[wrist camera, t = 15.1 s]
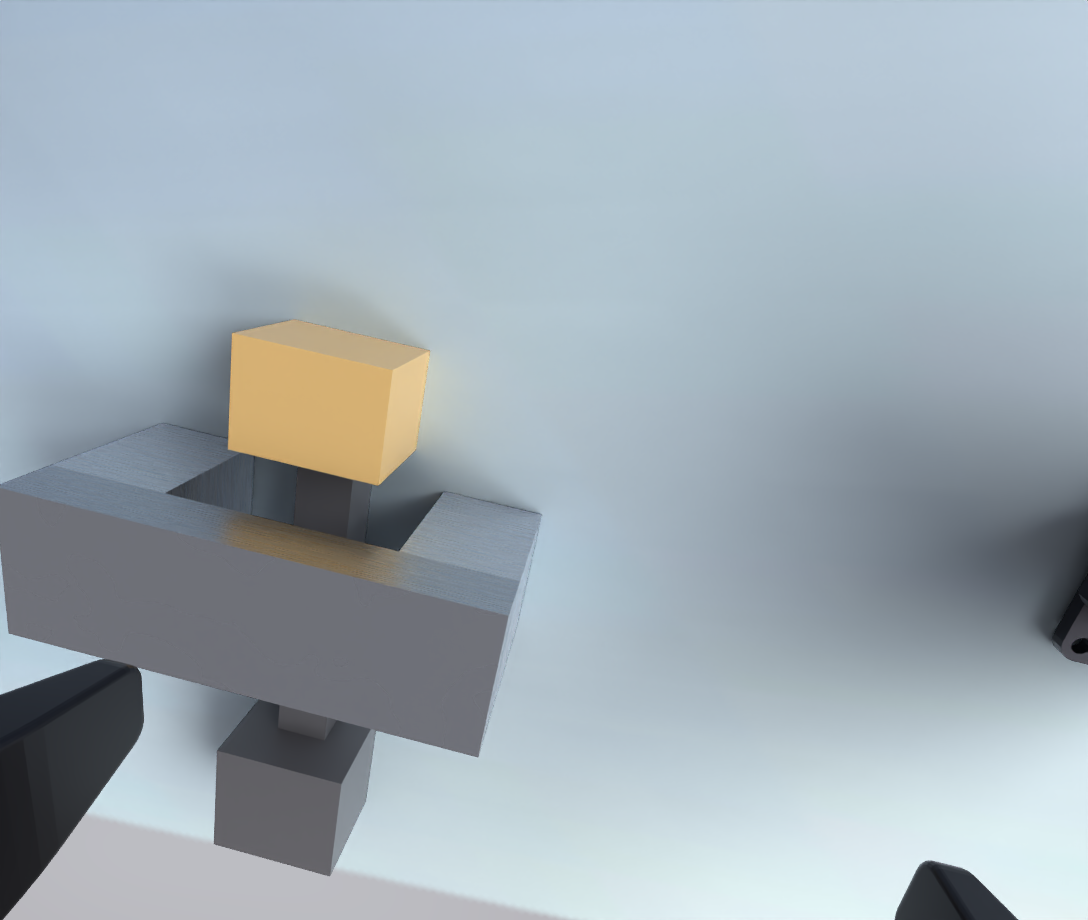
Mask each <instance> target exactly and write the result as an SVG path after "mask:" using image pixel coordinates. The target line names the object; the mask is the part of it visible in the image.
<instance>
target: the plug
mask: <svg viewBox="0 0 1088 920" xmlns="http://www.w3.org/2000/svg"><path fill="white" fill-rule="evenodd" d="M429 355H430V350H425V349H421V348H417V347H412V346H408V345H404V344H399V343H395V342H390V341H386V340H382V339H377V338H373V337H369V336H364V335H360V334H356V333H351V332H347V331H343V330H338V329H334V328H329V327H325V326H321V325H316V324H312V323H308V322H303V321H299V320H295V319H294V320H289V321H285V322H280V323H275V324H271V325H266V326H262V327H257V328H252V329H248V330H243V331H239V332H234V333H232V349H231V377H230V405H229V433H228V449H229V450H233V451H237V452H241V453H245V454H249V455H254V456H258V457H262V458H266V459H270V460H274V461H278V462H282V463H287V464H291V465H295V466H298V471H297V484H296V497H295V510H294V523H293V525H295V526H299V527H303V528H307V529H311V530H315V531H319V532H323V533H327V534H331V535H335V536H339V537H343V538H347V539H351V540H355V541H359V542H363V543H365V537H366V529H367V521H368V512H369V504H370V496H371V487H372V484H373V485H377V486H379V485H380V484H381V483H382V482H383V481H384V480H385V479H386V478H387V477H388V476H389V475H390V474H391V473H392V472H393V471H394V470H395V469H396V468H398V467H399V466H400V465H401V464H402V463H403V462H404V461H405V460H406V459H407V458H408V457H409V456H410V455H411V454H412V453H413V452H414V451H415V450H416V446H417V439H418V432H419V425H420V418H421V411H422V404H423V397H424V390H425V383H426V376H427V369H428V362H429ZM375 734H376V730H373V729H369V728H365V727H361V726H358V725H354V724H350V723H346V722H342V721H339V720H335V719H331V718H327V717H323V716H320V715H316V714H312V713H308V712H305V711H301V710H297V709H293V708H289V707H286V706H282V705H278V704H274V703H270V702H267V701H263V700H258V701H257V703H256V704H255V705H254V706H253V707H252V709H251V710H250V711H249V712H248V714H247V715H246V716H245V717H244V718H243V720H242V721H241V722H240V723H239V725H238V726H237V727H236V728H235V729H234V731H233V732H232V733H231V734H230V736H229V737H228V738H227V739H226V740H225V742H224V743H223V744H222V745H221V747H220V748H219V749H218V750H217V770H216V798H215V826H214V844H215V845H219V846H222V847H226V848H230V849H233V850H237V851H240V852H244V853H248V854H251V855H255V856H259V857H262V858H266V859H269V860H273V861H277V862H280V863H284V864H287V865H291V866H294V867H298V868H302V869H305V870H309V871H312V872H316V873H320V874H323V875H327V876H330V875H331V873H332V871H333V869H334V867H335V865H336V863H337V861H338V859H339V856H340V854H341V852H342V850H343V848H344V846H345V844H346V842H347V840H348V838H349V835H350V833H351V831H352V829H353V827H354V825H355V823H356V821H357V819H358V816H359V814H360V812H361V810H362V808H363V806H364V804H365V802H366V797H367V790H368V783H369V776H370V769H371V762H372V755H373V748H374V741H375Z"/></svg>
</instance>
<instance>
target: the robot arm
mask: <svg viewBox="0 0 1088 920" xmlns="http://www.w3.org/2000/svg"><path fill="white" fill-rule="evenodd" d="M1079 638H1082V640H1081V641H1080V642H1079V643H1078V644H1075V645H1072V643H1073V642H1074V641H1075V640H1077V639H1079ZM1052 641H1053V645H1054V646H1055V647H1056V649H1057V650H1058V651H1060V652H1061V653H1062V654H1063V655H1064V656H1065V657H1066V658H1068V659H1070V660H1072V661H1075V662H1080V663H1084V664H1088V574H1087V575H1086V577H1085V579H1084V581H1083V582H1082V584H1081V586H1080V588H1079V590H1078V591H1077V593H1076V595H1075V597H1074V598H1073V600H1072V602H1071V604H1070V606H1069V607H1068V609H1067V611H1066V613H1065V614H1064V616H1063V618H1062V620H1061V621H1060V623H1059V625H1058V627H1057V629H1056V630H1055V632H1054V634H1053V638H1052ZM143 723H144V711H143V695H142V678H141V673H140V671H139V670H138V668H137V667H135V666H133V665H130V664H126V663H122V662H118V661H113V660H109V659H102V660H97V661H94V662H91V663H88V664H85V665H83V666H80V667H77V668H74V669H71V670H69V671H66V672H63V673H60V674H57V675H55V676H52V677H49V678H46V679H43V680H41V681H38V682H35V683H32V684H29V685H27V686H24V687H21V688H18V689H15V690H13V691H10V692H7V693H4V694H1V695H0V920H3V919H4V918H5V916H6V915H7V914H8V913H9V912H10V911H11V909H12V908H13V907H14V906H15V905H16V903H17V902H18V901H19V899H21V898H22V896H23V895H24V894H25V893H26V891H27V890H28V889H29V888H30V887H31V885H32V884H33V883H34V882H35V880H36V879H37V878H38V877H39V876H40V874H41V873H42V872H43V871H44V869H45V868H46V867H47V865H48V864H49V863H50V861H51V860H52V859H53V857H54V856H55V855H56V853H57V852H58V851H59V849H60V848H61V847H62V845H63V844H64V842H65V841H66V840H67V838H68V837H69V836H70V834H71V833H72V831H73V830H74V829H75V827H76V826H77V824H78V823H79V821H80V820H81V819H82V817H83V816H84V815H85V813H86V812H87V810H88V809H89V808H90V806H91V805H92V803H93V802H94V801H95V799H96V798H97V796H98V795H99V794H100V792H101V791H102V789H103V788H104V787H105V785H106V784H107V783H108V781H109V780H110V778H111V777H112V776H113V774H114V773H115V771H116V770H117V769H118V767H119V766H120V764H121V763H122V762H123V760H124V759H125V757H126V756H127V755H128V753H129V752H130V750H131V749H132V748H133V746H134V745H135V743H136V742H137V740H138V738H139V736H140V734H141V731H142V728H143ZM895 920H1018V919H1017V918H1016V917H1015V916H1014V915H1013V914H1012V913H1011V912H1010V911H1009V910H1008V909H1007V908H1006V907H1005V906H1004V905H1003V904H1002V903H1001V902H1000V901H999V900H998V899H997V898H996V897H995V896H994V895H993V894H992V893H991V892H990V891H989V890H988V889H987V888H986V887H985V886H984V885H983V884H982V883H981V882H980V881H979V880H978V879H977V878H976V877H975V876H974V875H972V874H971V873H970V872H968V871H967V870H965V869H963V868H960V867H956V866H952V865H948V864H944V863H939V862H935V861H925V862H923V863H922V864H920V865H919V867H918V869H917V870H916V872H915V874H914V876H913V878H912V881H911V883H910V885H909V887H908V889H907V891H906V893H905V895H904V897H903V899H902V901H901V903H900V905H899V907H898V909H897V912H896V916H895Z"/></svg>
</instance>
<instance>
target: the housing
mask: <svg viewBox="0 0 1088 920" xmlns="http://www.w3.org/2000/svg"><path fill="white" fill-rule="evenodd" d="M253 469H254V455H249V454H245V453H241V452H237V451H233V450H229V449H228V439H226V438H222V437H218V436H214V435H210V434H206V433H201V432H197V431H193V430H189V429H185V428H181V427H177V426H172V425H168V424H164V423H161V424H158V425H156V426H153V427H150V428H148V429H145V430H142V431H140V432H137V433H134V434H132V435H129V436H126V437H124V438H121V439H119V440H116V441H113V442H111V443H108V444H105V445H103V446H100V447H97V448H95V449H92V450H89V451H87V452H84V453H81V454H79V455H76V456H74V457H71V458H68V459H66V460H63V461H60V462H58V463H55V464H52V465H50V466H47V467H44V468H42V469H39V470H36V471H34V472H31V473H29V474H26V475H23V476H21V477H18V478H15V479H13V480H10V481H7V482H5V483H2V484H0V551H1V561H2V571H3V581H4V591H5V601H6V611H7V621H8V631H9V634H13V635H17V636H21V637H24V638H28V639H32V640H36V641H40V642H43V643H47V644H51V645H55V646H58V647H62V648H66V649H70V650H74V651H77V652H81V653H85V654H89V655H93V656H96V657H100V658H104V659H109V660H113V661H118V662H122V663H126V664H130V665H133V666H135V667H138V668H142V669H146V670H149V671H153V672H157V673H161V674H164V675H168V676H172V677H176V678H180V679H183V680H187V681H191V682H195V683H199V684H202V685H206V686H210V687H214V688H217V689H221V690H225V691H229V692H233V693H236V694H240V695H244V696H248V697H252V698H255V699H259V700H263V701H267V702H270V703H274V704H278V705H282V706H286V707H289V708H293V709H297V710H301V711H305V712H308V713H312V714H316V715H320V716H323V717H327V718H331V719H335V720H339V721H342V722H346V723H350V724H354V725H358V726H361V727H365V728H369V729H373V730H376V731H380V732H384V733H388V734H392V735H395V736H399V737H403V738H407V739H411V740H414V741H418V742H422V743H426V744H429V745H433V746H437V747H441V748H445V749H448V750H452V751H456V752H460V753H464V754H467V755H471V756H475V757H478V756H479V753H480V749H481V746H482V743H483V739H484V736H485V733H486V729H487V726H488V722H489V719H490V716H491V712H492V709H493V706H494V702H495V699H496V695H497V692H498V689H499V685H500V682H501V679H502V675H503V672H504V669H505V665H506V662H507V658H508V655H509V652H510V648H511V645H512V642H513V638H514V635H515V631H516V628H517V624H518V620H519V615H520V611H521V606H522V602H523V597H524V593H525V588H526V584H527V579H528V575H529V570H530V566H531V561H532V557H533V552H534V548H535V543H536V539H537V534H538V530H539V525H540V521H541V516H542V515H541V514H537V513H532V512H528V511H524V510H520V509H516V508H512V507H508V506H503V505H499V504H495V503H491V502H487V501H483V500H479V499H475V498H470V497H466V496H462V495H458V494H454V493H450V492H446V491H444V493H443V494H442V495H441V497H440V498H439V499H438V500H437V502H436V503H435V504H434V506H433V507H432V508H431V510H430V511H429V512H428V514H427V515H426V516H425V518H424V519H423V520H422V522H421V523H420V524H419V526H418V527H417V528H416V530H415V531H414V532H413V534H412V535H411V536H410V537H409V539H408V540H407V541H406V543H405V544H404V545H403V547H402V548H401V549H400V551H395V550H391V549H387V548H383V547H379V546H375V545H371V544H367V543H363V542H359V541H355V540H351V539H347V538H343V537H339V536H335V535H331V534H327V533H323V532H319V531H315V530H311V529H307V528H303V527H299V526H295V525H291V524H287V523H283V522H278V521H274V520H270V519H266V518H262V517H258V516H254V515H251V509H252V489H253Z"/></svg>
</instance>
